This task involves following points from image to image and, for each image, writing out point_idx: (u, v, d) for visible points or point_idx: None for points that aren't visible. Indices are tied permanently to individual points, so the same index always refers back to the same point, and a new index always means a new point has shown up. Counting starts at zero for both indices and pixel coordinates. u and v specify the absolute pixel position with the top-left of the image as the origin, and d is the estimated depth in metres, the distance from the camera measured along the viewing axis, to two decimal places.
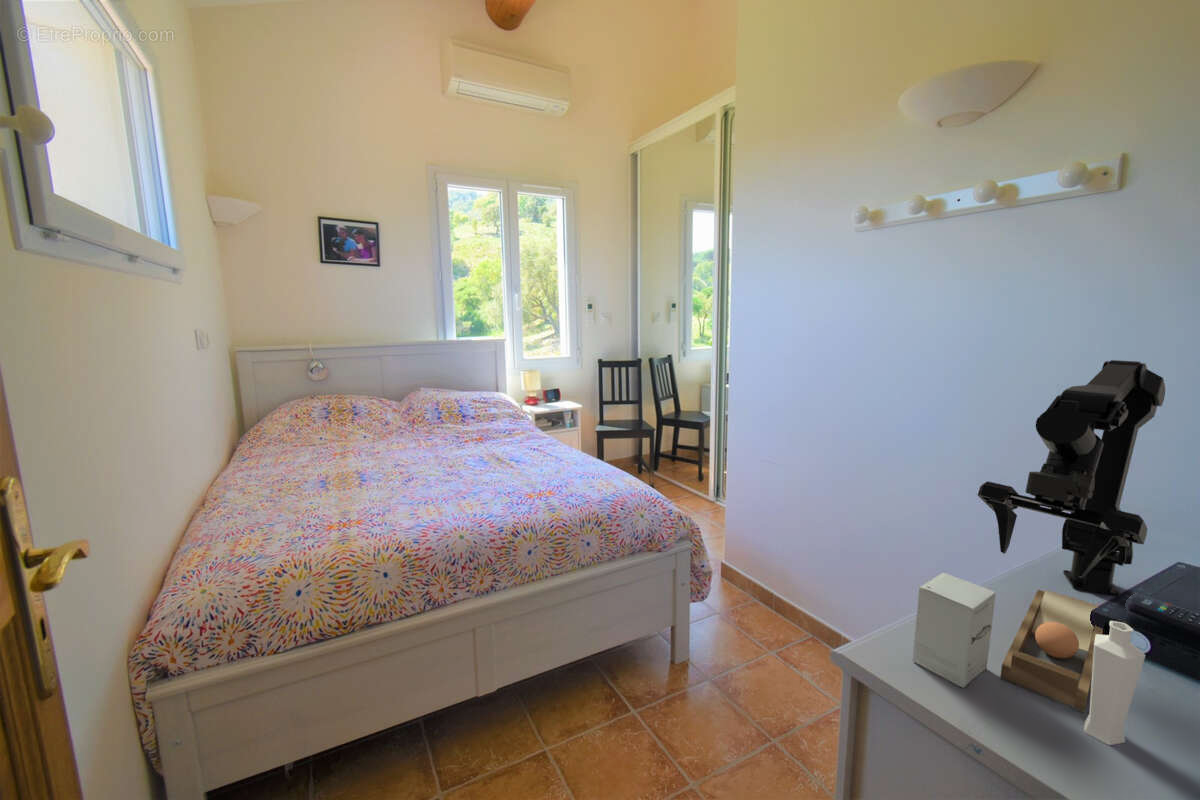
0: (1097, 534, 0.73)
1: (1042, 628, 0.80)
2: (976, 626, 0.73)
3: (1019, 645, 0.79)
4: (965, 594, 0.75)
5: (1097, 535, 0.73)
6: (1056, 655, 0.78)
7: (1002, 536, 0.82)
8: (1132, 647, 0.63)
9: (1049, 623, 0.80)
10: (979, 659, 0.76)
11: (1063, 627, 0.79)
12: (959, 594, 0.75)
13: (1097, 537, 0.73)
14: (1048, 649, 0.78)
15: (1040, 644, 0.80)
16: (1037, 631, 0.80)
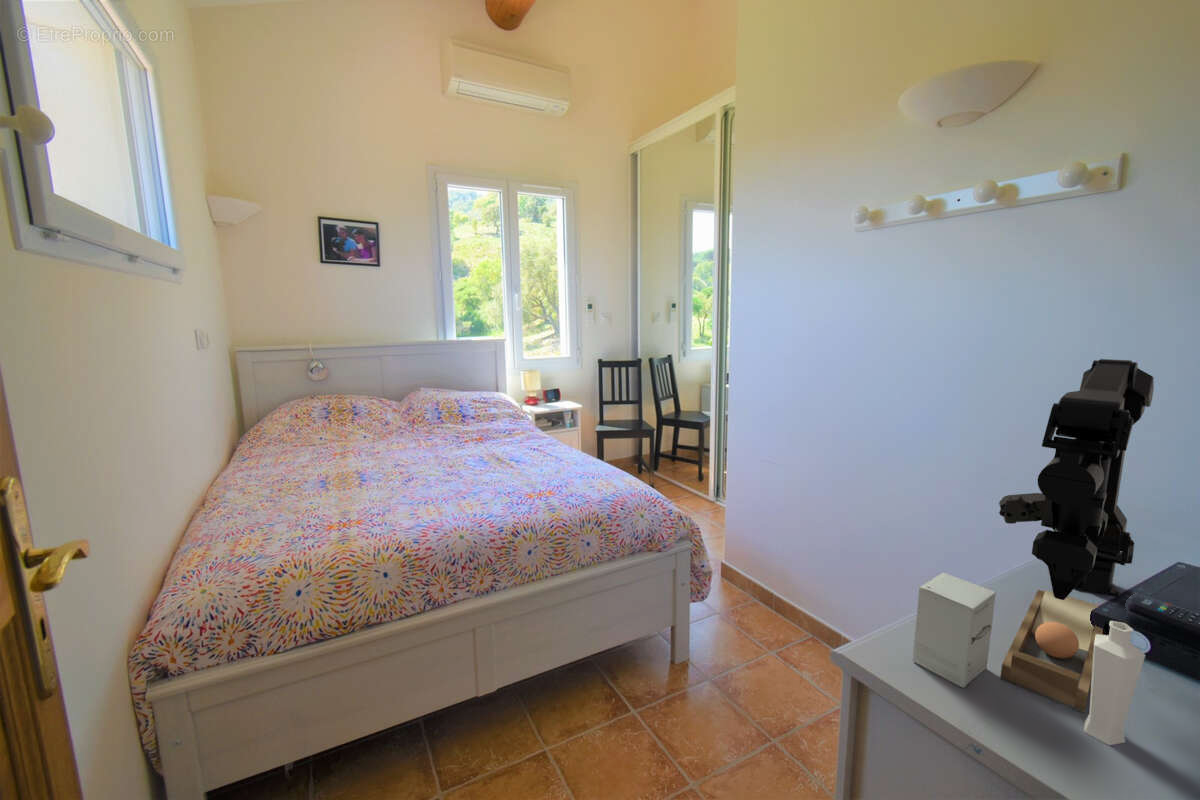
0: None
1: (1042, 628, 0.80)
2: (976, 626, 0.73)
3: (1019, 645, 0.79)
4: (965, 594, 0.75)
5: None
6: (1056, 655, 0.78)
7: None
8: (1132, 647, 0.63)
9: (1049, 623, 0.80)
10: (979, 659, 0.76)
11: (1063, 627, 0.79)
12: (959, 594, 0.75)
13: None
14: (1048, 649, 0.78)
15: (1040, 644, 0.80)
16: (1037, 631, 0.80)
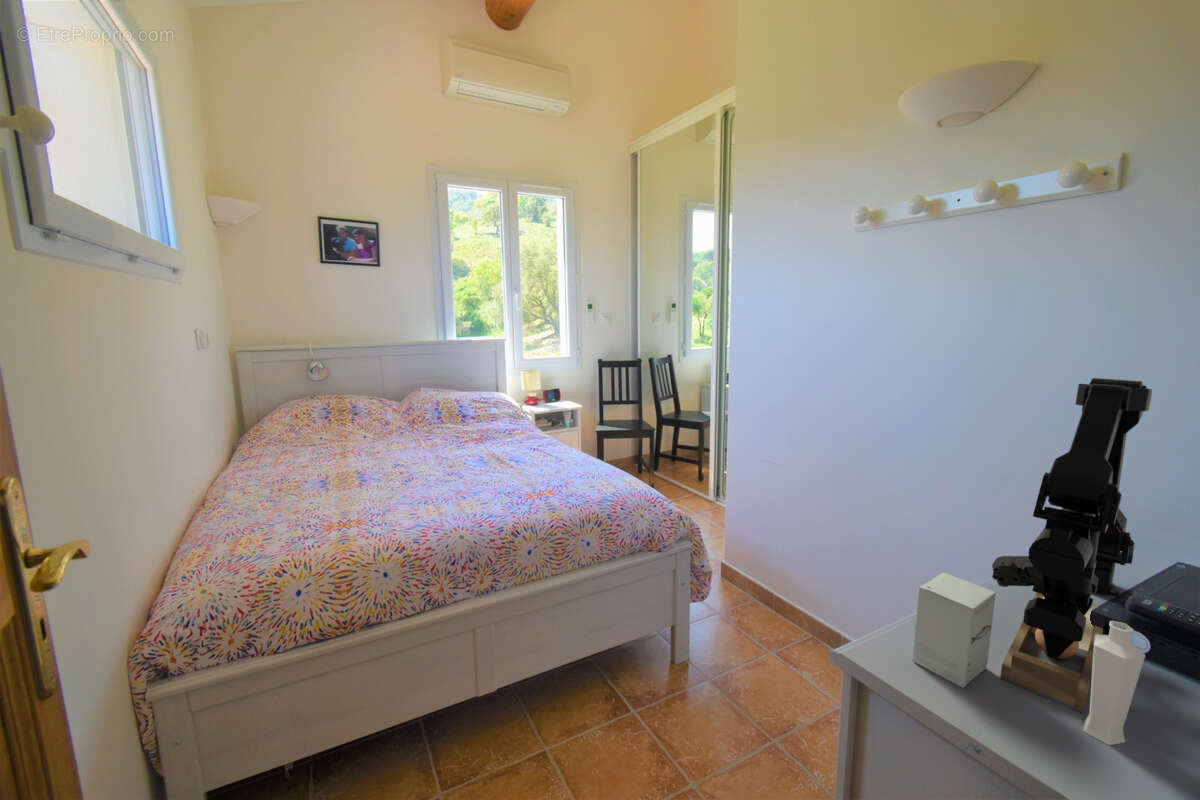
0: None
1: None
2: (976, 626, 0.73)
3: (1019, 645, 0.79)
4: (965, 594, 0.75)
5: None
6: None
7: None
8: (1132, 647, 0.63)
9: None
10: (979, 659, 0.76)
11: None
12: (959, 594, 0.75)
13: None
14: None
15: (1040, 644, 0.80)
16: (1037, 631, 0.80)
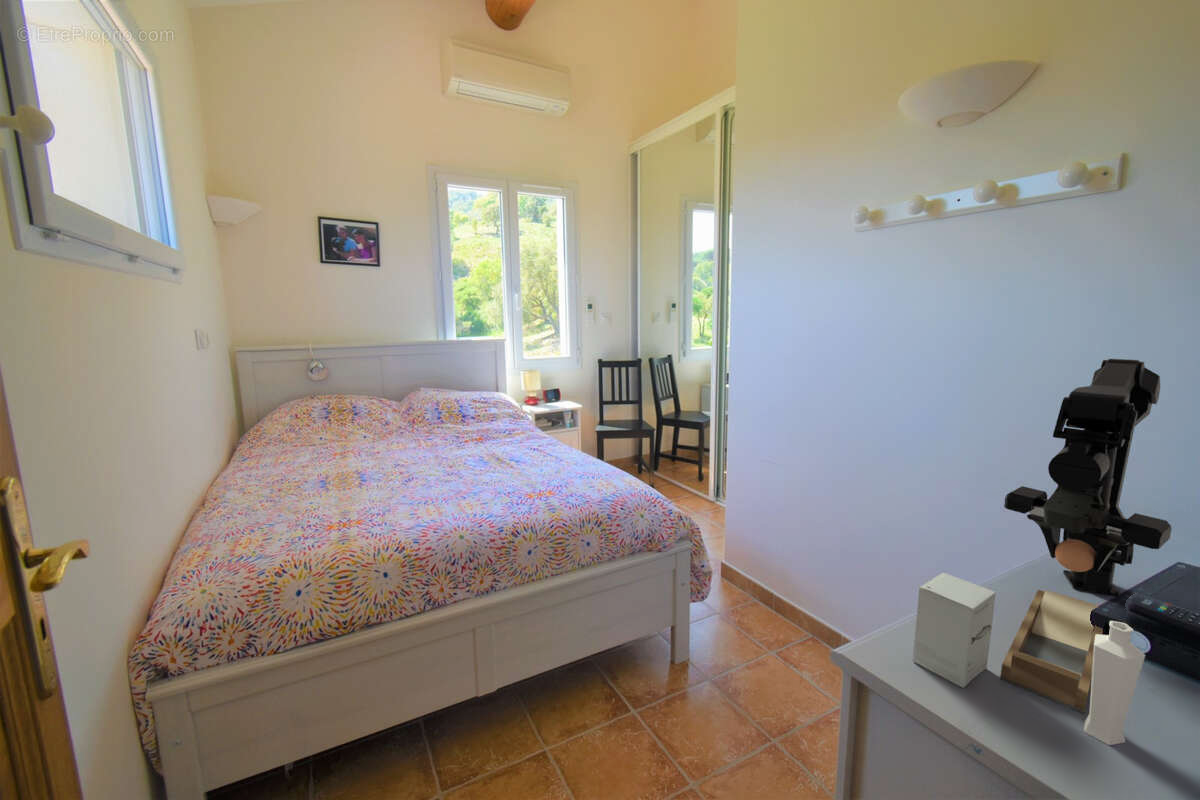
0: (1103, 541, 0.80)
1: (1079, 551, 0.83)
2: (976, 626, 0.73)
3: (1019, 645, 0.79)
4: (965, 594, 0.75)
5: (1103, 542, 0.80)
6: (1092, 567, 0.83)
7: (1050, 545, 0.87)
8: (1132, 647, 0.63)
9: (1074, 544, 0.84)
10: (979, 659, 0.76)
11: (1079, 540, 0.84)
12: (959, 594, 0.75)
13: (1104, 543, 0.80)
14: (1093, 566, 0.82)
15: (1085, 566, 0.82)
16: (1077, 557, 0.83)
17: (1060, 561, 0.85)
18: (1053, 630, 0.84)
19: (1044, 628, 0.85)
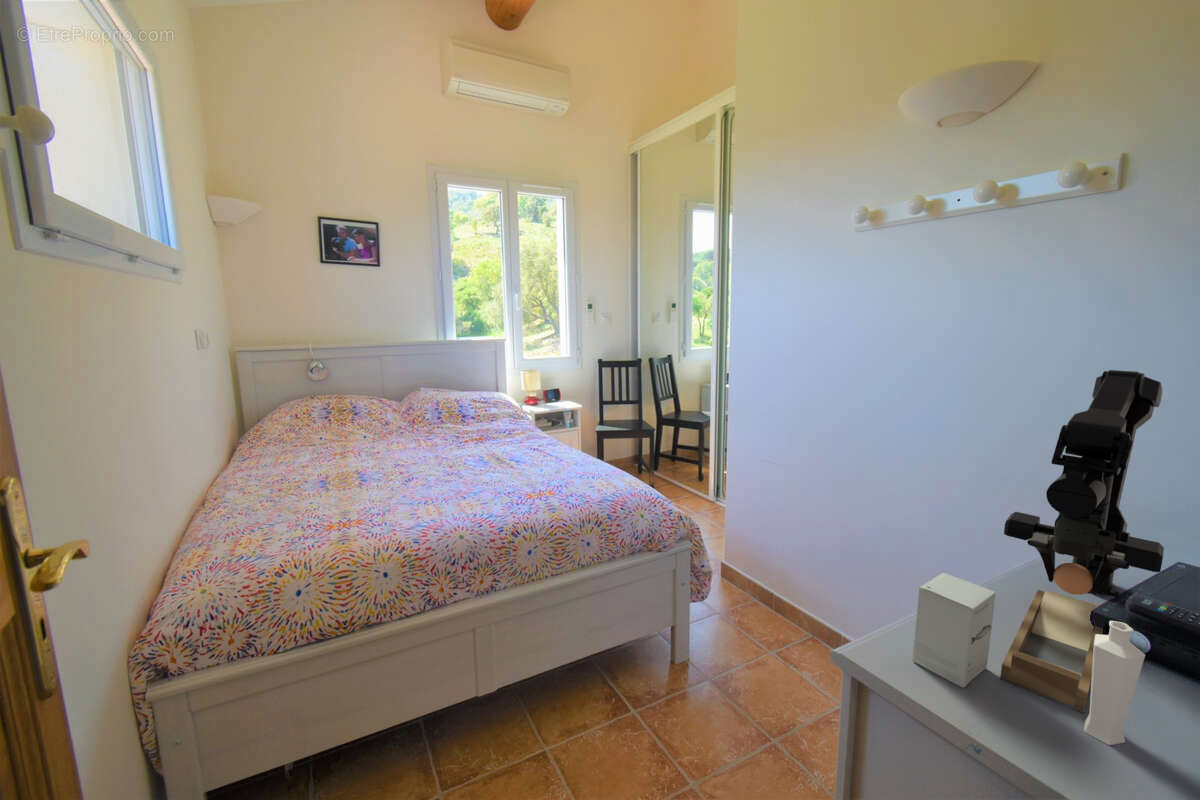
0: (1105, 565, 0.82)
1: (1080, 575, 0.85)
2: (976, 626, 0.73)
3: (1019, 645, 0.79)
4: (965, 594, 0.75)
5: (1105, 566, 0.82)
6: None
7: (1048, 569, 0.89)
8: (1132, 647, 0.63)
9: (1073, 568, 0.86)
10: (979, 659, 0.76)
11: None
12: (959, 594, 0.75)
13: (1105, 566, 0.82)
14: (1091, 588, 0.85)
15: (1086, 589, 0.85)
16: (1078, 581, 0.85)
17: (1061, 585, 0.87)
18: (1053, 630, 0.84)
19: (1044, 628, 0.85)
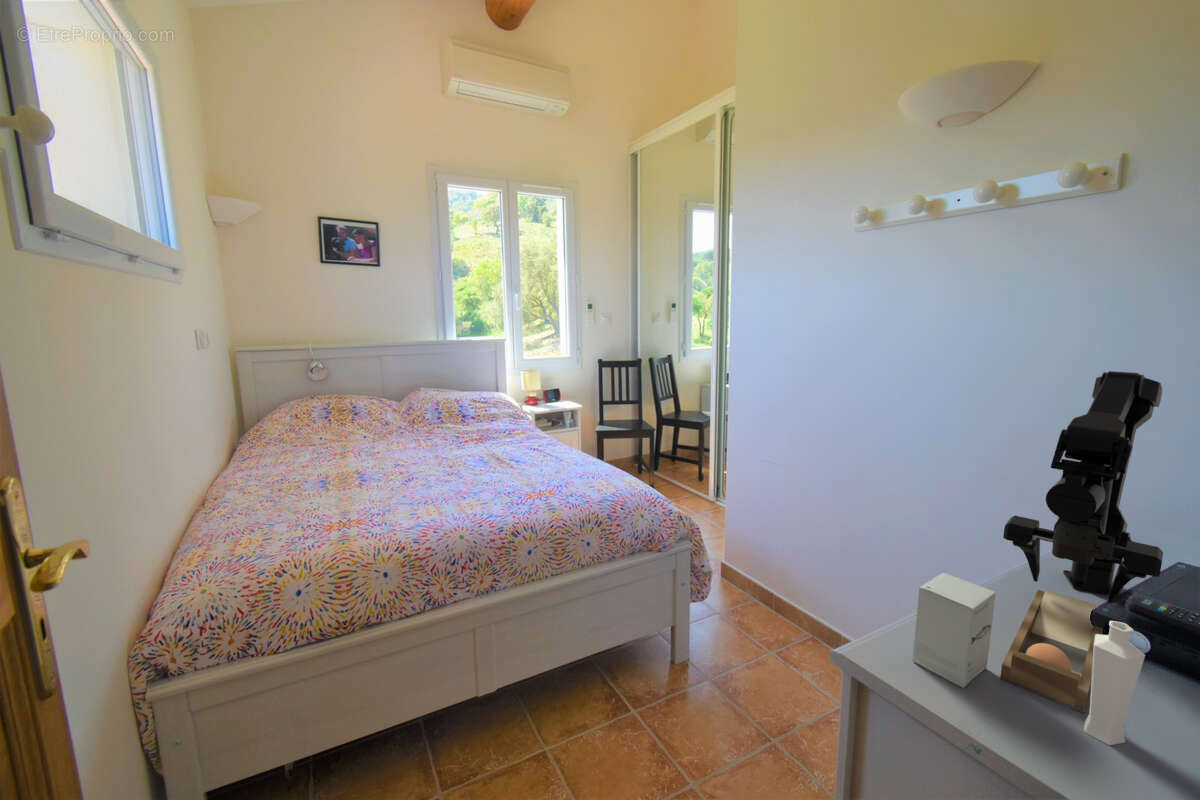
0: (1121, 574, 0.81)
1: None
2: (976, 626, 0.73)
3: (1019, 645, 0.79)
4: (965, 594, 0.75)
5: (1121, 574, 0.81)
6: None
7: (1033, 569, 0.90)
8: (1132, 647, 0.63)
9: None
10: (979, 659, 0.76)
11: None
12: (959, 594, 0.75)
13: (1121, 575, 0.81)
14: None
15: None
16: None
17: None
18: (1053, 630, 0.84)
19: (1044, 628, 0.85)
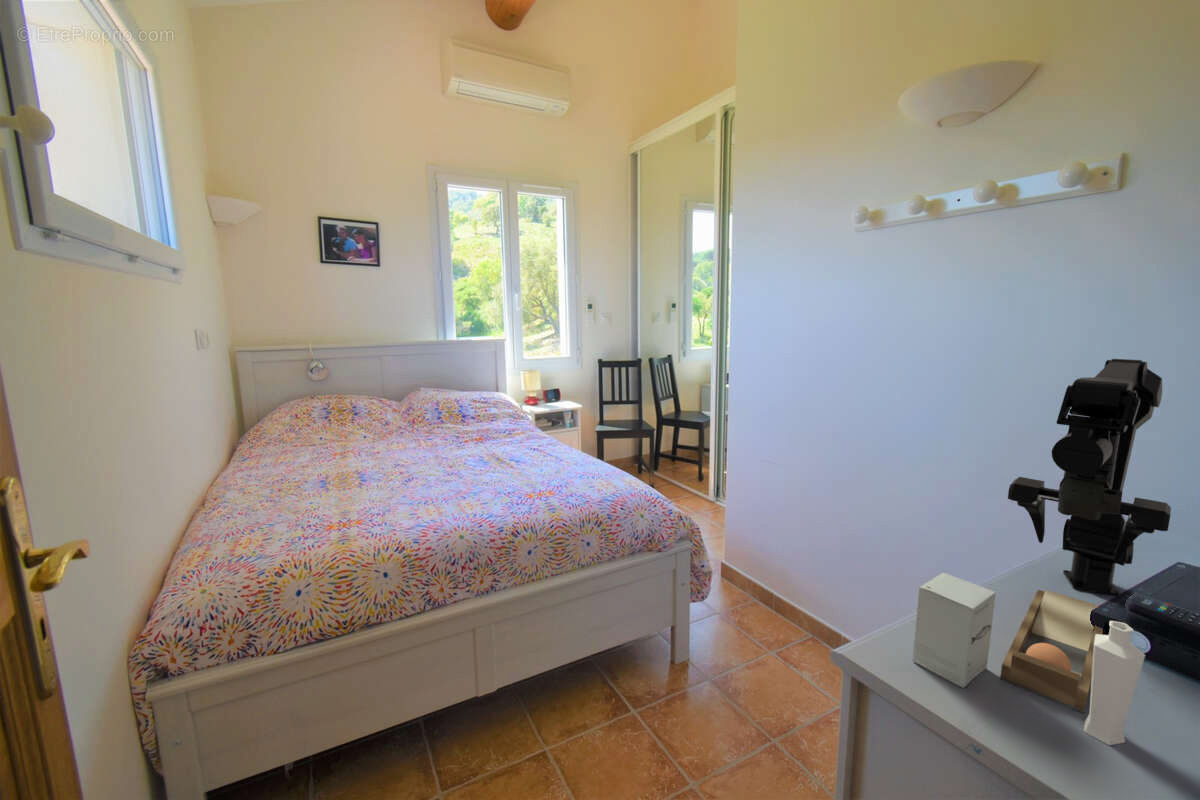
0: (1128, 530, 0.79)
1: None
2: (976, 626, 0.73)
3: (1019, 645, 0.79)
4: (965, 594, 0.75)
5: (1128, 531, 0.80)
6: None
7: (1038, 530, 0.89)
8: (1132, 647, 0.63)
9: None
10: (979, 659, 0.76)
11: None
12: (959, 594, 0.75)
13: (1128, 532, 0.80)
14: None
15: None
16: None
17: None
18: (1053, 630, 0.84)
19: (1044, 628, 0.85)
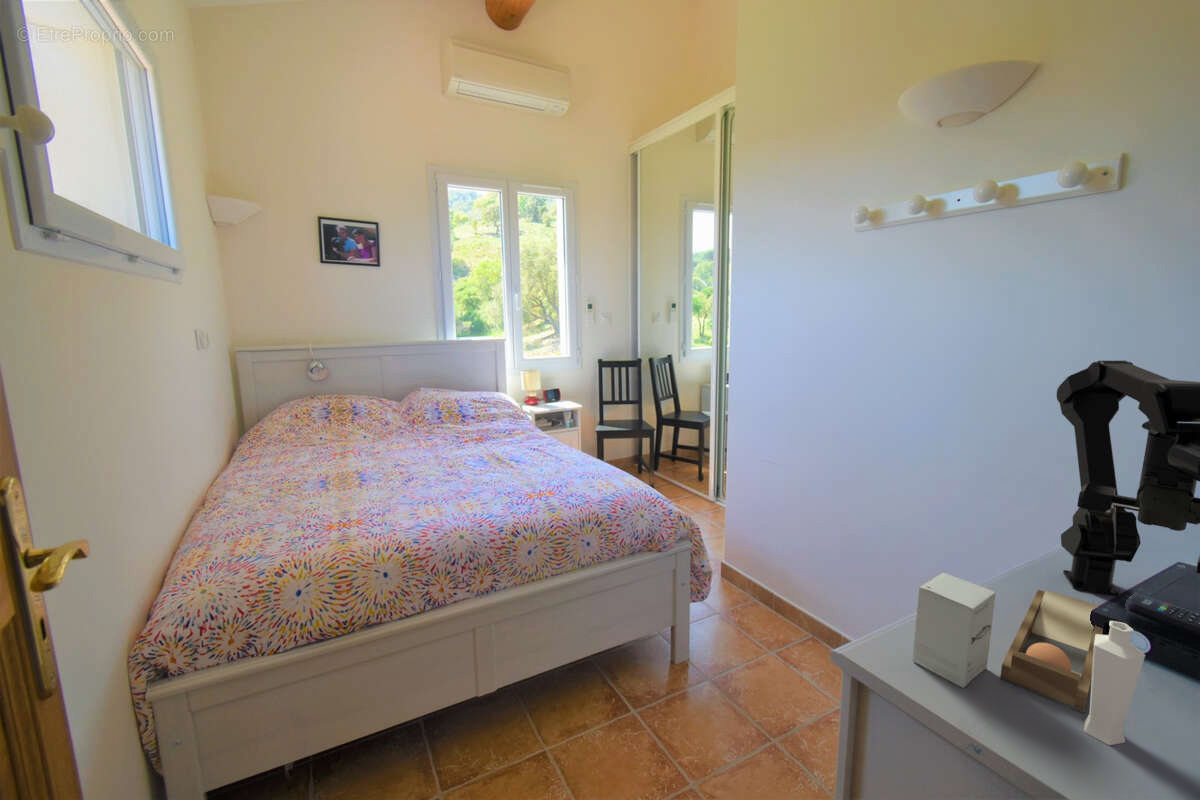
0: None
1: None
2: (976, 626, 0.73)
3: (1019, 645, 0.79)
4: (965, 594, 0.75)
5: None
6: None
7: (1110, 540, 0.84)
8: (1132, 647, 0.63)
9: None
10: (979, 659, 0.76)
11: None
12: (959, 594, 0.75)
13: None
14: None
15: None
16: None
17: None
18: (1053, 630, 0.84)
19: (1044, 628, 0.85)
